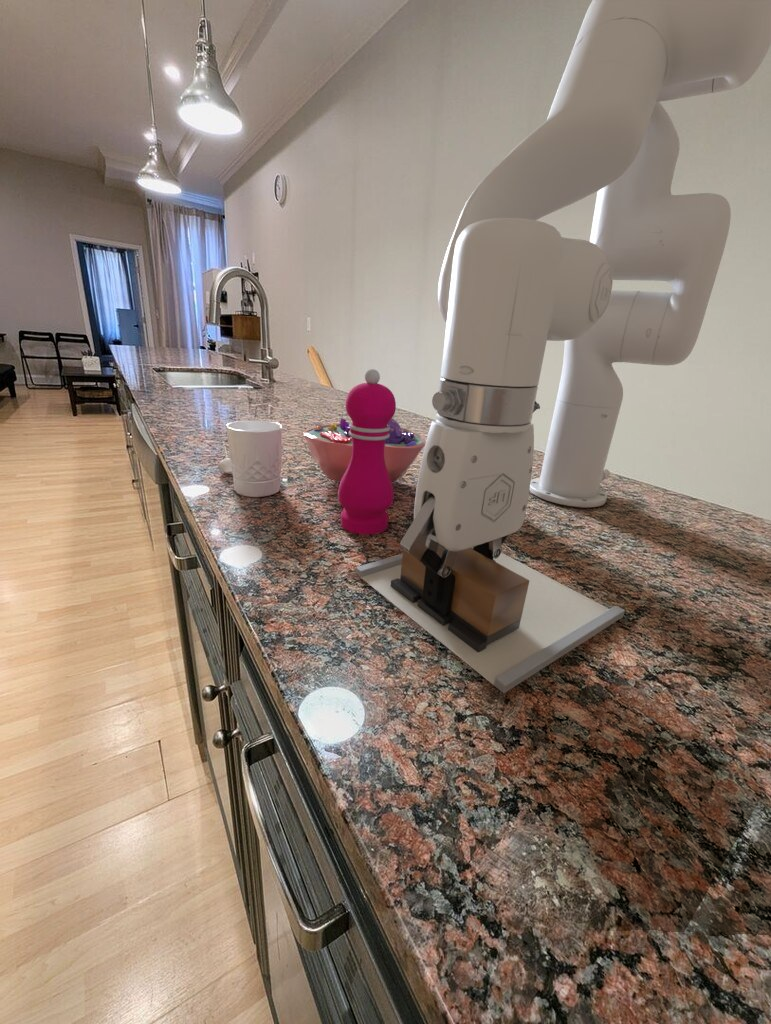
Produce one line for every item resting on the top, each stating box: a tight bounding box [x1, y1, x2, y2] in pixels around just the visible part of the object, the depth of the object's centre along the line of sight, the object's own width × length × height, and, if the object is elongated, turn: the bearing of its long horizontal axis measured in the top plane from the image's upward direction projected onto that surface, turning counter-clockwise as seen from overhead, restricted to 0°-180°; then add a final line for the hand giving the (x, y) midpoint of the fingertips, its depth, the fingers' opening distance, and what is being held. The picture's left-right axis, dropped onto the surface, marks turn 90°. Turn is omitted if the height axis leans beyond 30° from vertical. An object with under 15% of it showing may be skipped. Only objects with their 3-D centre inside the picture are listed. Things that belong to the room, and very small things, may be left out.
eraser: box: [400, 539, 529, 645], centre depth 42 cm, size 4×12×5 cm, turn 37°
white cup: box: [225, 419, 283, 498], centre depth 67 cm, size 8×8×10 cm
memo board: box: [355, 547, 626, 694], centre depth 45 cm, size 18×20×1 cm
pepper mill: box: [337, 368, 397, 535], centre depth 55 cm, size 7×7×20 cm
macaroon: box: [217, 457, 233, 475], centre depth 74 cm, size 4×5×2 cm
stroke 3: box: [448, 620, 487, 652], centre depth 38 cm, size 4×1×1 cm, turn 37°
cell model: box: [302, 417, 426, 483], centre depth 74 cm, size 17×20×11 cm
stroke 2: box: [418, 599, 452, 626], centre depth 41 cm, size 4×1×1 cm, turn 37°
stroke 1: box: [390, 578, 421, 603], centre depth 44 cm, size 4×1×1 cm, turn 37°
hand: (456, 596), depth 43 cm, fingers closed on eraser, 4 cm apart
